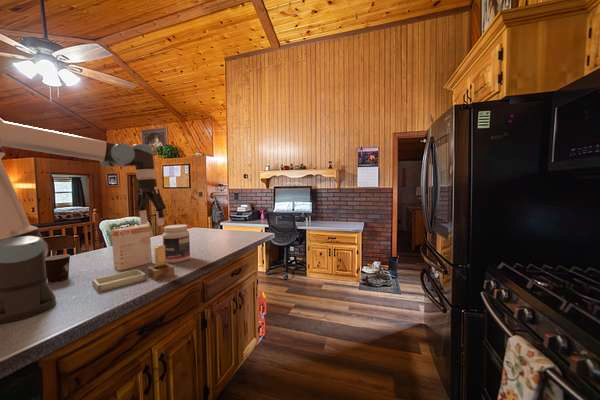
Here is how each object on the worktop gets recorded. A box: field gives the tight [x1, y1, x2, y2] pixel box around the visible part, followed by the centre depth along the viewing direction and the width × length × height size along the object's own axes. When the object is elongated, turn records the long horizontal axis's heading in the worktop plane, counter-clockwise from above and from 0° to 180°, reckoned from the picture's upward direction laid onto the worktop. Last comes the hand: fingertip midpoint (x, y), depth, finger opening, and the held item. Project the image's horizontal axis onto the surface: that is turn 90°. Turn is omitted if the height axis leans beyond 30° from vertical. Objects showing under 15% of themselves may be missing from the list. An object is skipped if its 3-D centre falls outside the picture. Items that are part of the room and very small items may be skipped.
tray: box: [91, 268, 147, 293], centre depth 104 cm, size 16×11×2 cm
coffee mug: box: [45, 254, 71, 284], centre depth 110 cm, size 12×9×10 cm
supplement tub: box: [162, 224, 191, 264], centre depth 134 cm, size 13×13×18 cm
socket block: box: [147, 262, 175, 281], centre depth 111 cm, size 8×8×4 cm
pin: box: [153, 245, 167, 269], centre depth 110 cm, size 4×4×13 cm
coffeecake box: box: [111, 224, 153, 271], centre depth 126 cm, size 15×7×20 cm, turn 144°
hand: (152, 224), depth 117 cm, fingers open, 13 cm apart
